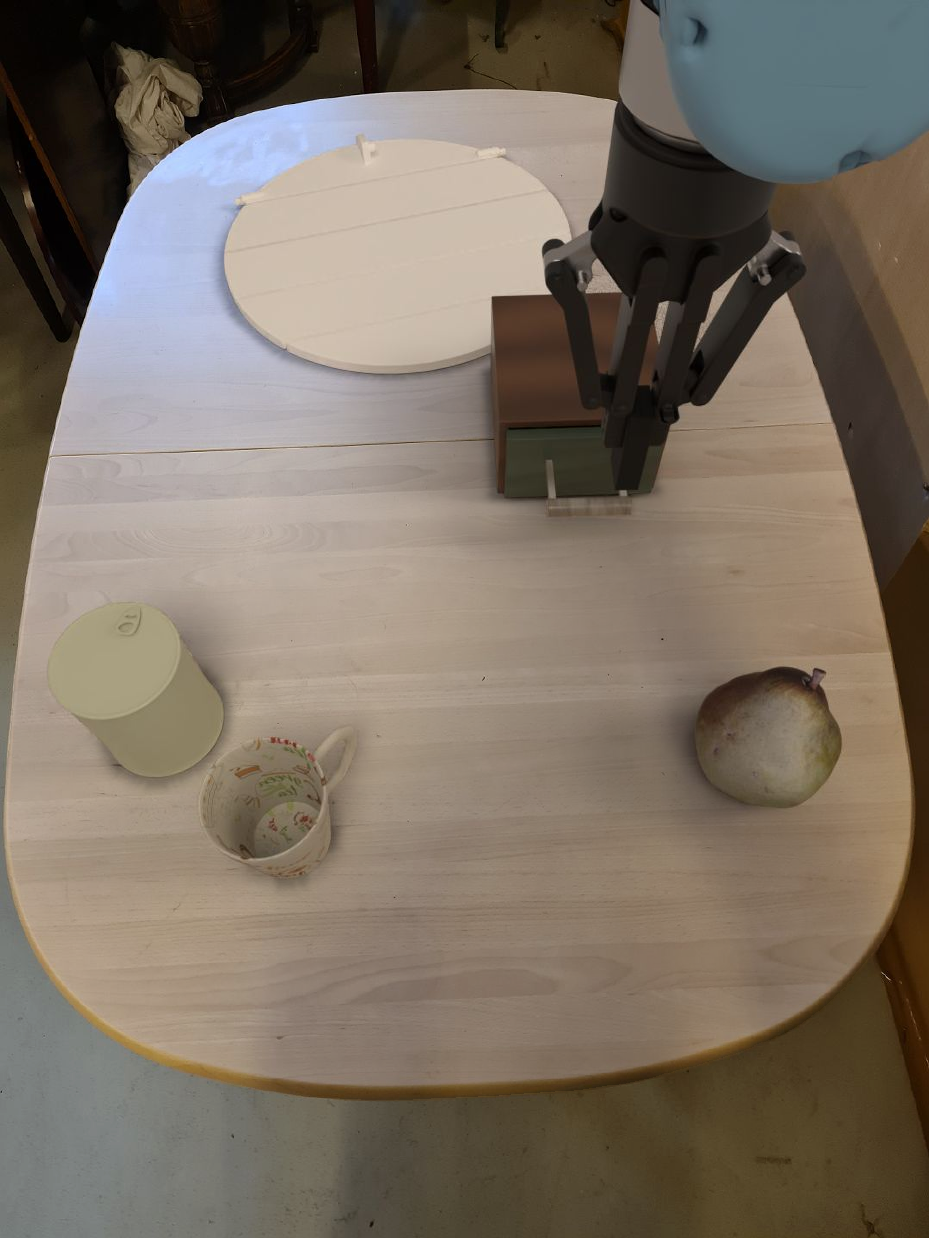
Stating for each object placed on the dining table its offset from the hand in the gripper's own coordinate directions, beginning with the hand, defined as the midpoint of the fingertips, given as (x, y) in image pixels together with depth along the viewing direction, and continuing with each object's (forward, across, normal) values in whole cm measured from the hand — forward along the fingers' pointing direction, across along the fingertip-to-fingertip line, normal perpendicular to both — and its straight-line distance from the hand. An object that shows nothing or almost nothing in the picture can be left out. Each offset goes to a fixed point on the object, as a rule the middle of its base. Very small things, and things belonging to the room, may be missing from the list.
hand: (624, 473), depth 56 cm
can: (+20, +35, +8) cm, 41 cm away
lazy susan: (+20, +17, -50) cm, 56 cm away
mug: (+20, +23, +16) cm, 34 cm away
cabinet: (+20, 0, -22) cm, 30 cm away
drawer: (+19, 0, -17) cm, 26 cm away
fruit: (+20, -11, +13) cm, 26 cm away
